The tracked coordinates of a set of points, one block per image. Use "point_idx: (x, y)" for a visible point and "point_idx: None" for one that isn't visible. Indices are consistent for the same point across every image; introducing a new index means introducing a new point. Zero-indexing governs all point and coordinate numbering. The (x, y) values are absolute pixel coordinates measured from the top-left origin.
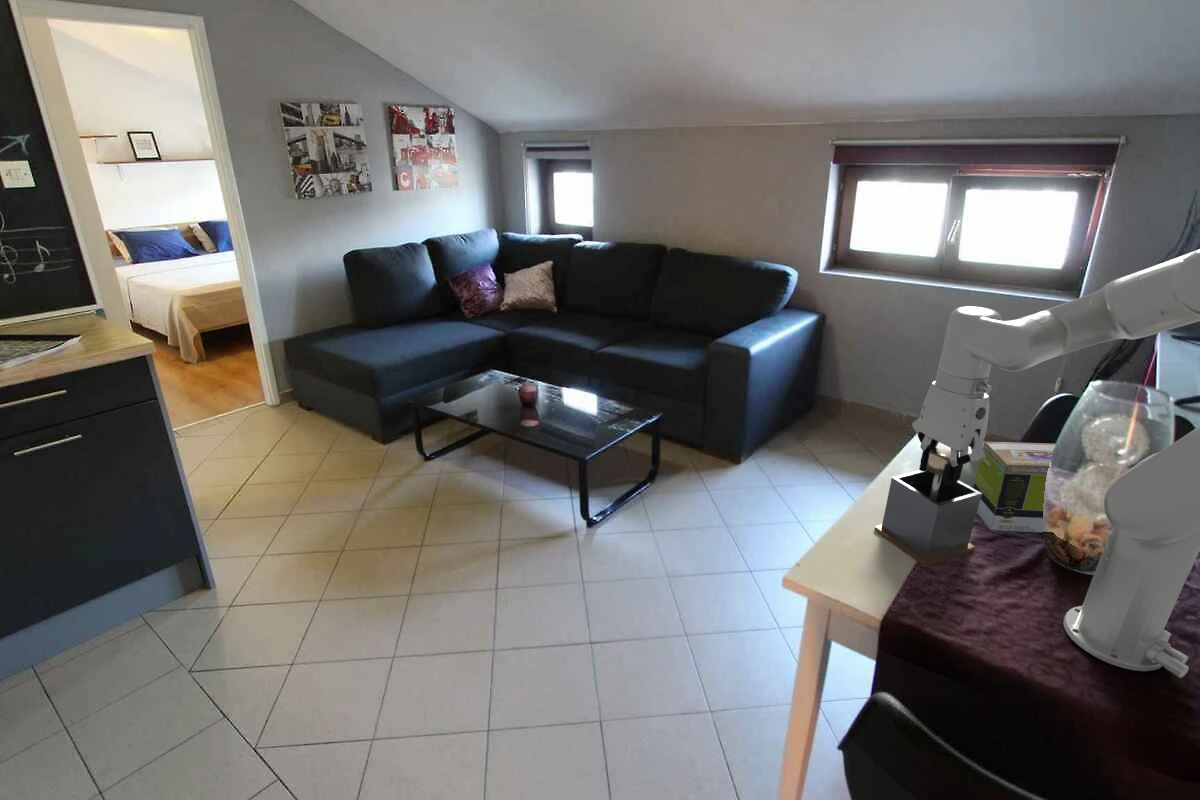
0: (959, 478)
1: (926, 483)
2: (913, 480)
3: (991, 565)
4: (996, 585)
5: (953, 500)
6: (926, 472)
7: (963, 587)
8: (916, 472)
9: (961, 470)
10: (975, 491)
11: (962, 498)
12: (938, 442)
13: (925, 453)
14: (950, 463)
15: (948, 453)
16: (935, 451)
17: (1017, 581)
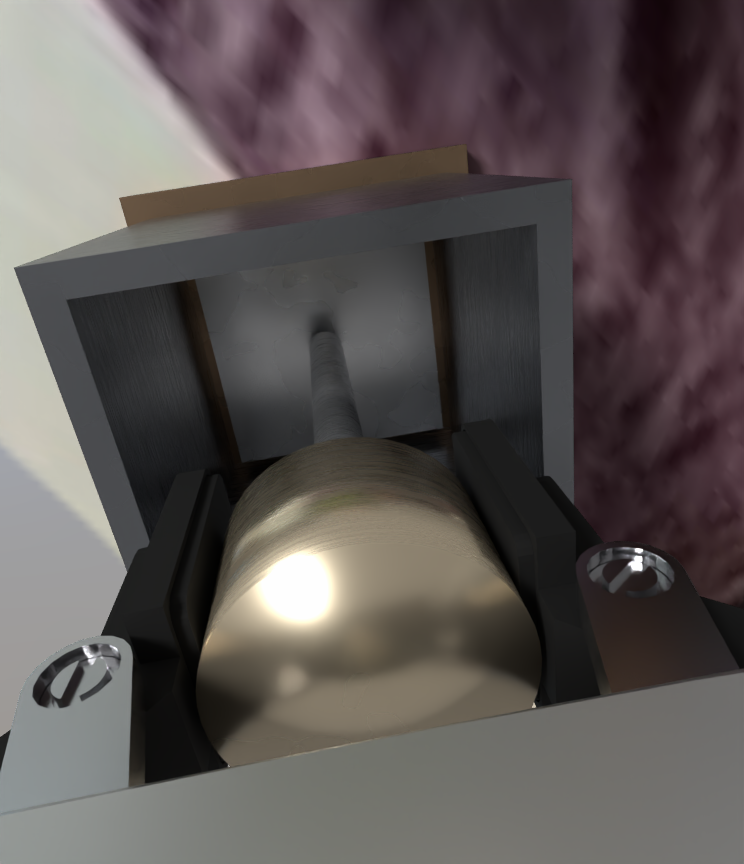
0: (550, 478)
1: (125, 321)
2: (155, 485)
3: (571, 149)
4: (672, 243)
5: (561, 486)
6: (101, 380)
7: (624, 382)
8: (119, 491)
9: (588, 527)
10: (525, 216)
11: (565, 406)
12: (129, 715)
13: (225, 766)
14: (544, 685)
15: (359, 612)
16: (264, 723)
17: (696, 123)
